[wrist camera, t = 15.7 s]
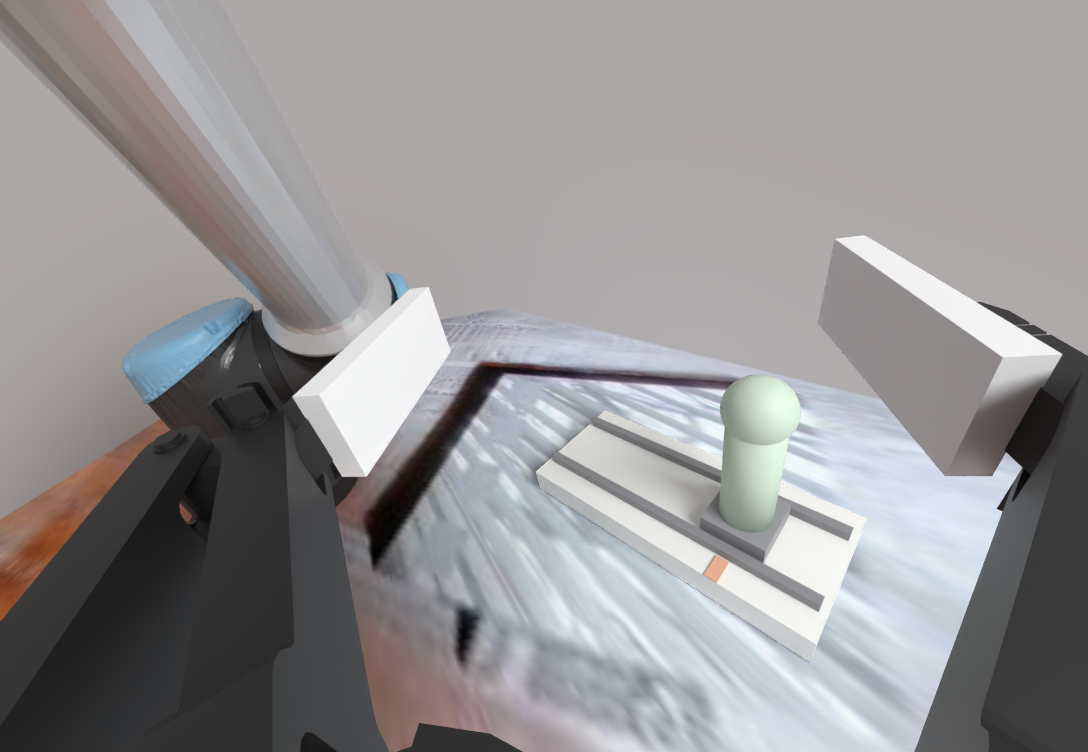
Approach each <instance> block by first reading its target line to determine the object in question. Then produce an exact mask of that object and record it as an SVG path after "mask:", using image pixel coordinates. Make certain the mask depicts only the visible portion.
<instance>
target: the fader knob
mask: <svg viewBox="0 0 1088 752" xmlns="http://www.w3.org/2000/svg"><path fill="white" fill-rule="evenodd" d="M720 414H721V419H722V421H723V424H724V426H725V432H724V445H723V458H722V471H721V485H720V491H719V492H718V494H717V495H716V497H715V498H714V499H713V501H712V502H711V504H710V505H709V506H708V508H707V509H706V510H705V512H704V513H703V515H702V516H701V518H700V529H701V530H703V531H705V532H707V533H709V534H710V535H712V536H714V537H716V538H718V539H720V540H721V541H723V542H725V543H727V544H729V545H731V546H732V547H734V548H736V549H738V550H740V551H742V552H744V553H745V554H747V555H749V556H751V557H753V558H755V559H756V560H758V561H760V562H762V563H764V561H765V559H766V557H767V556H768V554H769V552H770V550H771V548H772V546H773V545H774V543H775V541H776V539H777V537H778V536H779V534H780V532H781V530H782V528H783V527H784V525H785V523H786V521H787V519H788V518H789V514H790V510H791V504H789V503H787V502H784V501H782V500H780V499H778V494H779V488H780V483H781V478H782V472H783V467H784V462H785V457H786V451H787V446H788V441H789V436H790V435H791V434H792V433H793V432H794V431H795V429H796V428H797V426H798V424H799V421H800V416H801V408H800V403H799V400H798V398H797V396H796V394H795V393H794V391H793V390H792V389H791V388H790V387H789V386H788V385H787V384H786V383H785V382H783V381H781V380H779V379H777V378H775V377H772V376H768V375H750V376H746V377H743V378H741V379H739V380H737V381H735V382H734V383H733V384H732V385H730V386H729V387H728V389H727V390H726V391H725V393H724V395H723V397H722V400H721V404H720Z"/></svg>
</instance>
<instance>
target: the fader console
mask: <svg viewBox="0 0 1088 752" xmlns="http://www.w3.org/2000/svg"><path fill="white" fill-rule="evenodd" d="M721 471H722V458H719V457H717V456H715V455H712V454H710V453H707V452H705V451H702V450H700V449H698V448H695V447H693V446H690V445H688V444H685V443H683V442H680V441H678V440H676V439H673V438H671V437H668V436H666V435H663V434H661V433H659V432H656V431H654V430H651V429H649V428H646V427H644V426H642V425H639V424H637V423H634V422H632V421H629V420H627V419H624V418H622V417H620V416H617V415H615V414H612V413H610V412H607V411H604V412H603V413H602V414H601V415H599V416H598V417H595V418H594V419H593V420H592V422H591V423H590V424H589V425H588V426H587V427H586V428H585V429H584V430H582V431H581V432H580V433H579V434H578V435H577V436H576V437H574V438H573V439H572V440H571V441H570V442H569V443H568V444H566V445H565V446H564V447H563V448H562V449H561V450H560V451H558V452H555V453H554V454H553V455H552V458H551V459H549V460H548V461H547V462H546V463H545V464H544V465H543V466H541V467H540V468H539V469H538V470H537V471H536V475H537V479H538V483H539V487H540V488H541V489H542V490H544V491H545V492H547V493H549V494H550V495H552V496H553V497H555V498H556V499H558V500H559V501H561V502H562V503H564V504H566V505H567V506H569V507H570V508H572V509H573V510H575V511H576V512H578V513H579V514H581V515H583V516H584V517H586V518H587V519H589V520H590V521H592V522H593V523H595V524H596V525H598V526H600V527H601V528H603V529H604V530H606V531H607V532H609V533H610V534H612V535H613V536H615V537H617V538H618V539H620V540H621V541H623V542H624V543H626V544H627V545H629V546H630V547H632V548H633V549H635V550H637V551H638V552H640V553H641V554H643V555H644V556H646V557H647V558H649V559H650V560H652V561H654V562H655V563H657V564H658V565H660V566H661V567H663V568H664V569H666V570H667V571H669V572H671V573H672V574H674V575H675V576H677V577H678V578H680V579H681V580H683V581H684V582H686V583H688V584H689V585H691V586H692V587H694V588H695V589H697V590H698V591H700V592H701V593H703V594H705V595H706V596H708V597H709V598H711V599H712V600H714V601H715V602H717V603H718V604H720V605H722V606H723V607H725V608H726V609H728V610H729V611H731V612H732V613H734V614H735V615H737V616H739V617H740V618H742V619H743V620H745V621H746V622H748V623H749V624H751V625H752V626H754V627H756V628H757V629H759V630H760V631H762V632H763V633H765V634H766V635H768V636H769V637H771V638H773V639H774V640H776V641H777V642H779V643H780V644H782V645H783V646H785V647H786V648H788V649H790V650H791V651H793V652H794V653H796V654H797V655H799V656H800V657H802V658H803V659H805V660H807V661H808V662H810V660H811V658H812V655H813V653H814V650H815V648H816V645H817V643H818V640H819V638H820V635H821V633H822V630H823V628H824V625H825V623H826V620H827V618H828V615H829V613H830V610H831V608H832V605H833V603H834V600H835V598H836V595H837V593H838V590H839V588H840V585H841V583H842V581H843V578H844V576H845V573H846V571H847V568H848V566H849V563H850V561H851V558H852V556H853V553H854V551H855V548H856V546H857V543H858V541H859V538H860V536H861V533H862V530H863V528H864V525H865V522H866V520H867V518H866V517H863V516H861V515H858V514H856V513H853V512H851V511H849V510H846V509H844V508H841V507H839V506H836V505H834V504H832V503H829V502H827V501H824V500H822V499H819V498H817V497H814V496H812V495H810V494H807V493H805V492H802V491H800V490H797V489H795V488H793V487H790V486H788V485H785V484H783V483H780V488H779V494H778V499H780V500H782V501H784V502H787V503H789V504H791V510H790V514H789V518H788V519H787V521H786V523H785V525H784V527H783V528H782V530H781V532H780V534H779V536H778V537H777V539H776V541H775V543H774V545H773V546H772V548H771V550H770V552H769V554H768V556H767V557H766V559H765V561H764V563H762V562H760V561H758V560H756V559H755V558H753V557H751V556H749V555H747V554H745V553H744V552H742V551H740V550H738V549H736V548H734V547H732V546H731V545H729V544H727V543H725V542H723V541H721V540H720V539H718V538H716V537H714V536H712V535H710V534H709V533H707V532H705V531H703V530H701V529H700V518H701V516H702V515H703V513H704V512H705V510H706V509H707V508H708V506H709V505H710V504H711V502H712V501H713V499H714V498H715V497H716V495H717V494H718V492H719V491H720V485H721Z"/></svg>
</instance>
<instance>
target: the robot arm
mask: <svg viewBox="0 0 1088 752" xmlns="http://www.w3.org/2000/svg"><path fill="white" fill-rule="evenodd" d="M0 41H1V42H2V43H3V44H4V45H5V46H6V47H7V48H8V49H9V50H10V51H11V52H12V53H13V54H14V55H15V56H16V57H17V58H18V59H19V60H20V61H21V62H22V63H23V64H24V65H25V66H26V67H27V68H28V69H29V70H30V71H31V72H32V73H33V74H34V75H35V76H36V77H37V78H38V79H39V80H40V81H41V82H42V83H43V84H44V85H45V86H46V87H47V88H48V89H49V90H50V91H51V92H52V93H53V94H54V95H55V96H56V97H57V98H58V99H59V100H60V101H61V102H62V103H63V104H64V105H65V106H66V107H67V108H68V109H69V110H70V111H71V112H72V113H73V114H74V115H75V116H76V117H77V118H78V119H79V120H80V121H81V122H82V123H83V124H84V125H85V126H86V127H87V128H88V129H89V130H90V131H91V132H92V133H93V134H94V135H95V136H96V137H97V138H98V139H99V140H100V141H101V142H102V143H103V144H104V145H105V146H106V147H107V148H108V149H109V150H110V151H111V152H112V153H113V154H114V155H115V156H116V157H117V158H118V159H119V160H120V161H121V162H122V163H123V164H124V165H125V166H126V168H128V169H129V171H130V172H131V173H132V174H133V175H135V177H136V178H137V179H139V181H141V183H143V184H144V185H145V187H146V188H147V189H148V190H149V191H150V192H151V193H152V194H153V195H154V196H155V197H157V199H158V200H159V201H160V202H161V203H162V204H163V205H164V206H165V207H167V208H168V209H169V211H170V212H171V213H172V214H173V215H174V216H175V217H177V218H178V220H179V221H180V222H181V223H182V224H183V225H184V226H185V227H186V228H187V229H188V230H189V231H190V232H191V233H192V234H193V235H194V236H195V237H196V238H198V240H199V241H200V242H201V243H202V244H203V245H204V246H205V247H206V248H207V249H208V250H209V251H210V252H211V253H212V254H213V255H214V256H215V257H216V258H217V259H218V260H219V261H220V262H221V263H222V264H223V265H224V266H225V267H226V268H227V269H228V270H229V271H230V272H231V273H232V274H233V275H234V276H235V277H236V278H237V279H238V280H239V281H240V282H241V283H242V284H243V285H244V286H245V287H246V288H247V289H249V291H250V292H251V293H252V294H253V295H254V296H255V297H256V298H257V299H258V300H259V301H260V302H261V303H262V310H258V311H254V310H253V309H254V307H253V305H252V304H250V303H249V302H248V301H247V300H245V299H243V298H234V299H227V300H223V301H220V302H217V303H214V304H212V305H209V306H207V307H204V308H202V309H200V310H197V311H195V312H193V313H191V314H188V315H186V316H184V317H182V318H180V319H178V320H176V321H174V322H172V323H170V324H169V325H167V326H165V327H163V328H161V329H159V330H158V331H156V332H155V333H153V334H151V335H149V336H148V337H146V338H145V339H143V340H142V341H140V342H139V343H138V344H136V345H135V346H134V347H133V348H132V349H131V350H130V351H129V352H128V353H127V354H126V356H125V358H124V360H123V370H124V373H125V374H126V376H127V377H128V379H129V380H130V382H131V383H132V384H133V386H134V387H135V389H136V390H137V392H138V393H139V394H140V396H141V397H142V401H143V402H144V403H145V404H148V405H149V406H150V407H151V408H152V409H153V410H154V412H155V413H156V414H157V415H158V416H159V417H160V418H161V420H162V421H163V422H164V423H165V424H166V425H167V426H168V427H169V429H170V430H171V431H169V432H167V433H165V434H163V435H161V436H159V437H157V438H156V440H155V441H153V442H152V443H150V444H149V445H148V446H147V447H146V448H145V449H144V450H142V451H141V452H140V454H139V455H138V456H137V457H136V459H135V460H134V461H133V462H132V463H131V465H130V466H129V467H128V468H127V469H126V471H125V472H124V473H123V474H122V475H121V477H120V478H119V479H118V480H117V481H116V483H115V484H114V485H113V486H112V487H111V489H110V490H109V491H108V492H107V494H106V495H105V496H104V497H103V498H102V500H101V501H100V502H99V503H98V504H97V506H96V507H95V508H94V509H93V510H92V512H91V513H90V514H89V515H88V516H87V518H86V519H85V520H84V521H83V523H82V524H81V525H80V526H79V527H78V529H77V530H76V531H75V532H74V533H73V535H72V536H71V537H70V538H69V539H68V541H67V542H66V543H65V544H64V545H63V547H62V548H61V549H60V550H59V552H58V553H57V554H56V555H55V556H54V558H53V559H52V560H51V561H50V562H49V564H48V565H47V566H46V567H45V568H44V570H43V571H42V572H41V573H40V574H39V576H38V577H37V578H36V579H35V580H34V582H33V583H32V584H31V585H30V587H29V588H28V589H27V590H26V591H25V593H24V594H23V595H22V596H21V597H20V599H19V600H18V601H17V602H16V603H15V605H14V606H13V607H12V608H11V609H10V611H9V612H8V613H7V614H6V616H5V617H4V618H3V619H2V620H1V622H0V752H389V751H388V748H387V746H386V744H385V742H384V740H383V738H382V736H381V734H380V732H379V730H378V727H377V724H376V721H375V717H374V713H373V708H372V702H371V697H370V692H369V686H368V681H367V675H366V670H365V665H364V659H363V654H362V648H361V643H360V637H359V632H358V627H357V621H356V616H355V610H354V605H353V600H352V594H351V589H350V583H349V578H348V573H347V567H346V562H345V556H344V551H343V545H342V540H341V535H340V529H339V524H338V518H337V513H336V508H335V507H336V506H337V505H338V504H339V503H340V502H341V501H342V500H343V499H344V498H345V496H346V495H347V494H348V493H349V491H350V490H351V489H352V487H353V486H354V484H355V482H356V480H357V478H358V477H367V475H368V474H369V472H370V471H371V469H372V468H373V466H374V465H375V463H376V462H377V460H378V459H379V458H380V456H381V455H382V453H383V452H384V450H385V449H386V447H387V446H388V444H389V443H390V441H391V440H392V438H393V437H394V435H395V434H396V432H397V431H398V429H399V428H400V426H401V425H402V423H403V422H404V420H405V419H406V417H407V416H408V414H409V413H410V411H411V410H412V408H413V407H414V405H415V404H416V402H417V401H418V399H419V398H420V397H421V395H422V394H423V392H424V391H425V389H426V388H427V386H428V385H429V383H430V382H431V380H432V379H433V377H434V376H435V374H436V373H437V371H438V370H439V368H440V367H441V365H442V364H443V362H444V361H445V359H446V358H447V356H448V355H449V353H450V352H451V351H450V348H449V345H448V342H447V339H446V337H445V334H444V331H443V328H442V325H441V322H440V319H439V316H438V313H437V310H436V308H435V305H434V302H433V299H432V296H431V293H430V290H429V287H424V288H415V289H408V286H407V283H406V281H405V279H404V277H403V276H402V275H400V274H398V273H394V274H391V273H386V274H385V273H384V272H383V271H382V269H381V268H380V267H379V266H378V265H377V264H376V263H374V262H373V261H371V260H370V259H368V258H365V257H363V256H361V255H358V254H356V253H355V251H354V249H353V247H352V245H351V243H350V241H349V240H348V238H347V236H346V234H345V232H344V230H343V228H342V226H341V225H340V223H339V221H338V219H337V217H336V215H335V214H334V212H333V210H332V208H331V206H330V204H329V202H328V200H327V199H326V197H325V195H324V193H323V191H322V189H321V187H320V186H319V184H318V182H317V180H316V178H315V176H314V174H313V173H312V171H311V169H310V167H309V165H308V163H307V161H306V159H305V158H304V156H303V154H302V152H301V150H300V148H299V146H298V144H297V143H296V141H295V139H294V137H293V135H292V133H291V131H290V130H289V128H288V126H287V124H286V122H285V120H284V118H283V116H282V115H281V113H280V111H279V109H278V107H277V105H276V103H275V102H274V100H273V98H272V96H271V94H270V92H269V90H268V88H267V87H266V85H265V83H264V81H263V79H262V77H261V75H260V74H259V72H258V70H257V68H256V66H255V64H254V62H253V60H252V59H251V57H250V55H249V53H248V51H247V49H246V47H245V46H244V44H243V42H242V40H241V38H240V36H239V35H238V32H237V31H236V29H235V27H234V25H233V23H232V21H231V20H230V18H229V16H228V14H227V12H226V10H225V8H224V6H223V4H222V3H221V1H220V0H0ZM818 324H819V325H820V326H821V327H822V329H823V330H824V331H825V332H826V333H827V335H828V336H829V337H830V338H831V339H832V341H833V342H834V343H835V344H836V345H837V347H838V348H839V349H840V350H841V351H842V353H843V354H844V355H845V356H846V357H847V359H848V360H849V361H850V362H851V364H852V365H853V366H854V367H855V368H856V370H857V371H858V372H859V373H860V374H861V375H862V377H863V378H864V379H865V380H866V381H867V383H868V384H869V385H870V386H871V387H872V389H873V390H874V391H875V392H876V394H877V395H878V396H879V397H880V398H881V400H882V401H883V402H884V403H885V404H886V406H887V407H888V408H889V409H890V410H891V412H892V413H893V414H894V415H895V417H896V418H897V419H898V420H899V421H900V423H901V424H902V425H903V426H904V427H905V429H906V430H907V431H908V432H909V433H910V435H911V436H912V437H913V438H914V439H915V441H916V442H917V443H918V444H919V445H920V447H921V448H922V449H923V450H924V451H925V453H926V454H927V455H928V456H929V457H930V459H931V460H932V461H933V462H934V463H935V465H936V466H937V467H938V468H939V469H940V471H941V472H942V473H943V474H944V475H945V476H992V475H993V474H994V472H995V470H996V468H997V467H998V465H999V463H1000V462H1001V460H1002V458H1003V456H1004V455H1005V453H1006V452H1007V453H1008V454H1009V455H1010V456H1011V457H1012V458H1013V459H1014V460H1015V461H1016V462H1017V463H1018V464H1019V465H1020V466H1022V467H1023V468H1022V469H1021V471H1020V473H1019V474H1018V476H1017V477H1016V479H1015V481H1014V482H1013V484H1012V485H1011V487H1010V489H1009V490H1008V492H1007V493H1006V495H1005V497H1004V498H1003V500H1002V501H1001V503H1000V505H999V506H998V508H997V509H998V510H1001V511H1003V512H1002V515H1001V518H1000V521H999V523H998V526H997V529H996V531H995V534H994V537H993V540H992V542H991V545H990V548H989V551H988V553H987V556H986V559H985V561H984V564H983V567H982V570H981V572H980V575H979V578H978V581H977V583H976V586H975V589H974V591H973V594H972V597H971V600H970V602H969V605H968V608H967V610H966V613H965V616H964V619H963V621H962V624H961V627H960V630H959V632H958V635H957V638H956V640H955V643H954V646H953V649H952V651H951V654H950V657H949V660H948V662H947V665H946V668H945V670H944V673H943V676H942V679H941V681H940V684H939V687H938V689H937V692H936V695H935V698H934V700H933V703H932V706H931V709H930V711H929V714H928V717H927V719H926V722H925V725H924V728H923V730H922V733H921V736H920V739H919V741H918V744H917V747H916V749H915V752H1088V356H1087V355H1085V354H1083V353H1082V352H1080V351H1078V350H1076V349H1075V348H1073V347H1071V346H1069V345H1068V344H1066V343H1064V342H1062V341H1061V340H1059V339H1057V338H1056V337H1054V336H1052V335H1046V332H1045V331H1043V330H1041V329H1040V328H1038V327H1036V326H1035V325H1029V322H1028V321H1026V320H1024V319H1022V318H1021V317H1019V316H1017V315H1015V314H1014V313H1012V312H1010V311H1008V310H1004V309H1001V308H998V307H995V306H992V305H988V304H985V303H982V302H974V301H973V300H972V299H970V298H968V297H966V296H965V295H963V294H961V293H960V292H958V291H957V290H955V289H953V288H951V287H950V286H948V285H947V284H945V283H943V282H941V281H940V280H938V279H936V278H935V277H933V276H932V275H930V274H928V273H927V272H925V271H923V270H922V269H920V268H918V267H916V266H915V265H913V264H912V263H910V262H908V261H907V260H905V259H903V258H902V257H900V256H898V255H897V254H895V253H893V252H892V251H890V250H888V249H886V248H885V247H883V246H882V245H880V244H878V243H877V242H875V241H873V240H871V239H870V238H868V237H867V236H865V235H864V236H855V237H847V238H839V239H835V240H834V245H833V250H832V255H831V261H830V265H829V270H828V275H827V280H826V286H825V290H824V295H823V301H822V305H821V311H820V315H819V320H818ZM179 503H180V504H181V505H182V506H183V507H184V508H185V509H186V510H187V511H188V512H189V513H190V514H191V515H192V518H191V519H190V521H189V523H188V524H187V523H186V522H185V521H184V519H183V517H182V516H181V514H180V509H179ZM177 707H178V708H177ZM176 710H177V711H176ZM398 752H522V751H520V750H518V749H517V748H515V747H513V746H511V745H509V744H508V743H506V742H504V741H502V740H500V739H498V738H497V737H495V736H493V735H491V734H488V733H482V732H475V731H468V730H462V729H455V728H449V727H442V726H435V725H429V724H422V723H419V726H418V729H417V732H416V735H415V738H414V741H413V744H412V747H409V748H406V749H403V750H400V751H398Z"/></svg>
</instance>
